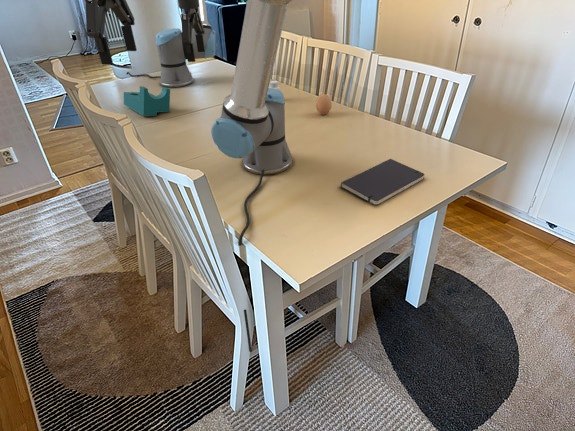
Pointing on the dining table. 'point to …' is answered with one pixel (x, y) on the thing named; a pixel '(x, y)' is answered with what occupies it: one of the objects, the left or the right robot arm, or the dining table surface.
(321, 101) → the egg
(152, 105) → the teal cradle holder
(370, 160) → the dining table surface
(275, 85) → the pill bottle
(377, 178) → the notebook
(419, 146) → the dining table surface
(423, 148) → the dining table surface
